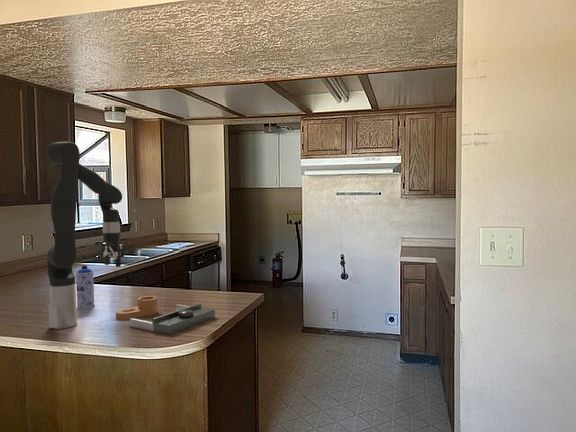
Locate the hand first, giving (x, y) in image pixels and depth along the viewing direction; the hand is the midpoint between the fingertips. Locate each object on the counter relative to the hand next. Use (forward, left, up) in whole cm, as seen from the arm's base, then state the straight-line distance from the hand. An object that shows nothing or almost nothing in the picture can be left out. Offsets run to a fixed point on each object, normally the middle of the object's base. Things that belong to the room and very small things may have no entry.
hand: (112, 265), depth 204 cm
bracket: (-2, -18, -21) cm, 28 cm away
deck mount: (-2, -41, -20) cm, 46 cm away
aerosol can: (-5, +15, -21) cm, 26 cm away
